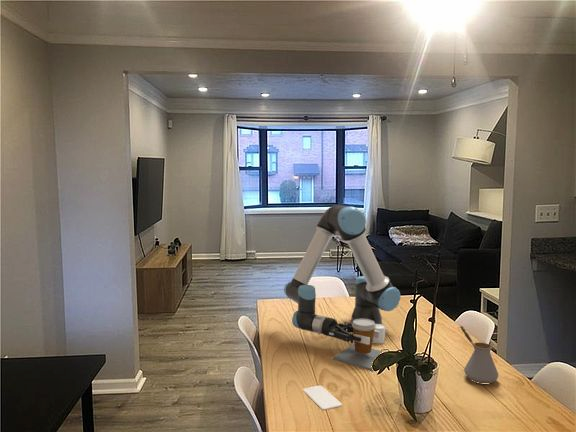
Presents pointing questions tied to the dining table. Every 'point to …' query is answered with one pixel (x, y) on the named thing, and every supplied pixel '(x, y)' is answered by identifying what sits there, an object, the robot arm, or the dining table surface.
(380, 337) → the white candle
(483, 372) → the coffee pot
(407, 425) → the dining table surface
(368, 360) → the grey rubber mat
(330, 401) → the smartphone
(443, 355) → the dining table surface
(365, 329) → the disposable coffee cup
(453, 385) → the dining table surface
